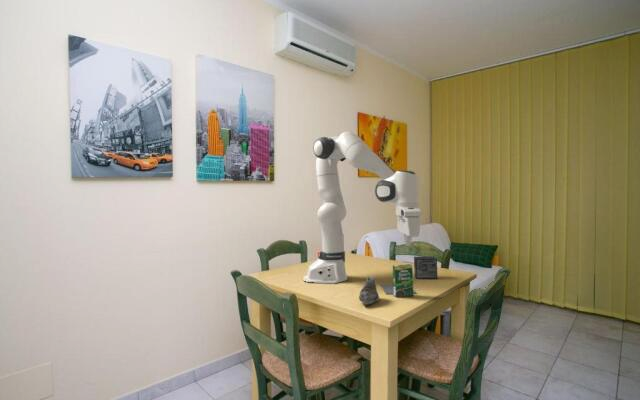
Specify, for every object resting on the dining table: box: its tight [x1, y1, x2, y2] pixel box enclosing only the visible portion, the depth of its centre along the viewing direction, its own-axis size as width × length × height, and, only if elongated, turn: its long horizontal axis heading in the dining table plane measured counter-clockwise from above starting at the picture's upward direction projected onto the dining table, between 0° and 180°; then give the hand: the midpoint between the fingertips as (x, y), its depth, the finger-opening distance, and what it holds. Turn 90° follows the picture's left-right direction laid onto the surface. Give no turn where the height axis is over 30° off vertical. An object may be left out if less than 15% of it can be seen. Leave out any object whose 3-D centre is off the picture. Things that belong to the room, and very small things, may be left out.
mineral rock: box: [358, 276, 380, 306], centre depth 137 cm, size 13×11×10 cm
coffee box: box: [392, 263, 414, 298], centre depth 144 cm, size 8×3×13 cm, turn 98°
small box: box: [413, 256, 438, 280], centre depth 174 cm, size 11×6×10 cm, turn 84°
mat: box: [380, 284, 418, 295], centre depth 153 cm, size 13×14×1 cm
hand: (407, 245), depth 136 cm, fingers closed
